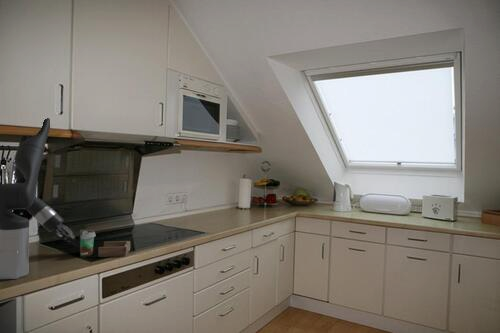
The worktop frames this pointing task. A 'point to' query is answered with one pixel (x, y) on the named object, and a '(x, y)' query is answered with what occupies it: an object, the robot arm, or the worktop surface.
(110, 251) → the walnut tray
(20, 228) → the robot arm
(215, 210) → the worktop surface
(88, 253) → the food container
